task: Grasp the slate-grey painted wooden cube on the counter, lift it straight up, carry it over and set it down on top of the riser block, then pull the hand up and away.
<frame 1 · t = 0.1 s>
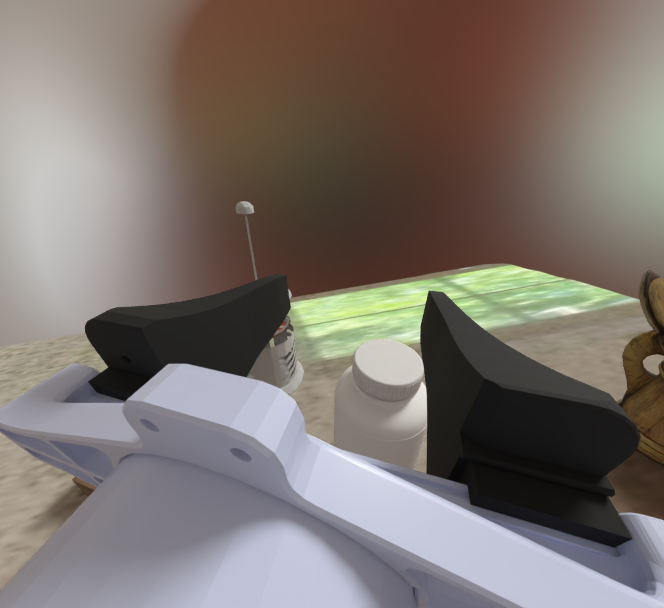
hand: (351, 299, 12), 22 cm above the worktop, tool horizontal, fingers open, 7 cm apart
brass mortar and pestle: (634, 425, 29), on the worktop
french press: (273, 372, 38), on the worktop
pill bottle: (371, 468, 25), on the worktop
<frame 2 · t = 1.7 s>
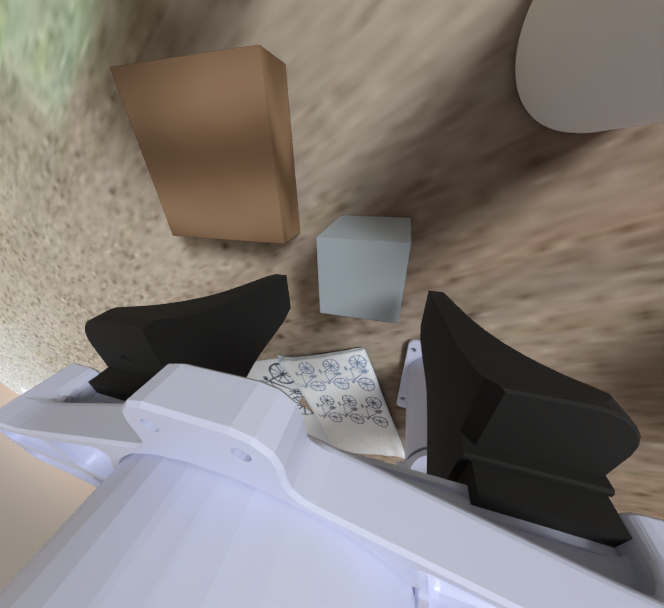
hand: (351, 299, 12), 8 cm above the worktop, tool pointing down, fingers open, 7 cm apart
white bicycle print cloth: (317, 400, 32), on the worktop
slate cube: (372, 249, 19), on the worktop
pill bottle: (617, 24, 10), on the worktop
riser: (233, 162, 18), on the worktop
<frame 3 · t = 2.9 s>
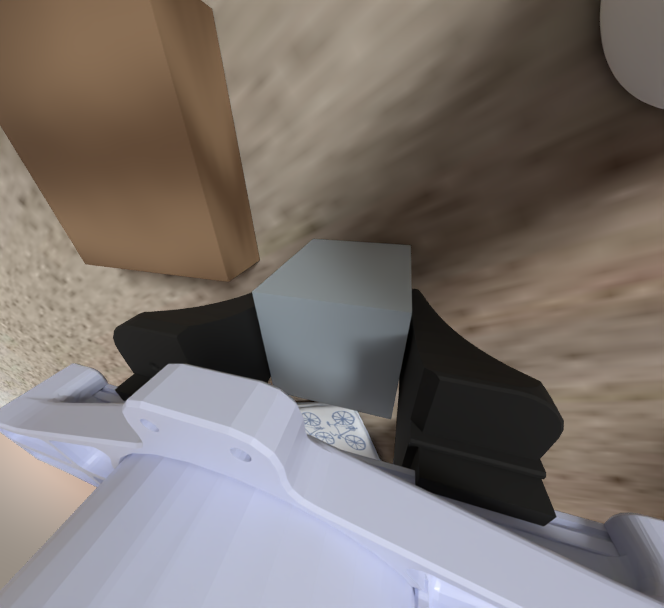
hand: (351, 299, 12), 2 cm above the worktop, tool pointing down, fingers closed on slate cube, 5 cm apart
white bicycle print cloth: (299, 446, 27), on the worktop
slate cube: (357, 285, 13), on the worktop, touching gripper
riser: (160, 164, 13), on the worktop
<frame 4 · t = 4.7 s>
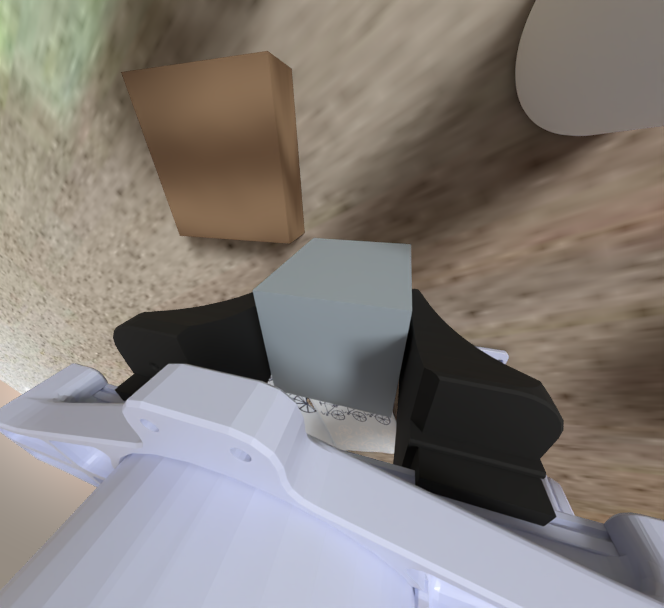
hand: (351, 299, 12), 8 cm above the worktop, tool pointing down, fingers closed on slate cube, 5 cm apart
white bicycle print cloth: (320, 398, 33), on the worktop
slate cube: (357, 284, 13), point 7 cm above the worktop, touching gripper
pill bottle: (613, 31, 11), on the worktop
riser: (239, 164, 18), on the worktop
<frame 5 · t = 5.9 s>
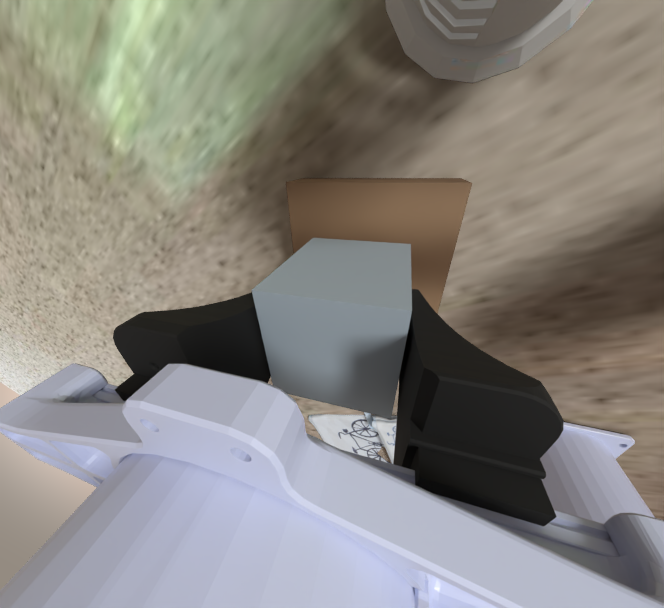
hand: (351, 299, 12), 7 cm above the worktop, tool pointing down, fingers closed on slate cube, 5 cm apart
white bicycle print cloth: (393, 450, 32), on the worktop
slate cube: (357, 284, 13), point 6 cm above the worktop, touching gripper
riser: (371, 252, 18), on the worktop
when the fingers open (6 cm above the worktop, at t = 6.6 s): slate cube drops 1 cm, resting on riser.
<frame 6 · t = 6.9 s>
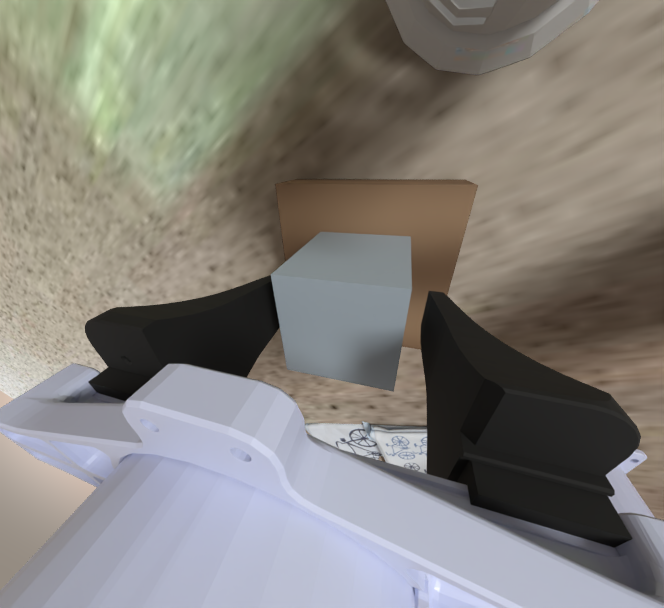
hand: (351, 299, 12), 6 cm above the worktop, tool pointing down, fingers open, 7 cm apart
white bicycle print cloth: (393, 459, 31), on the worktop
slate cube: (361, 275, 14), point 3 cm above the worktop, touching riser
riser: (368, 258, 17), on the worktop
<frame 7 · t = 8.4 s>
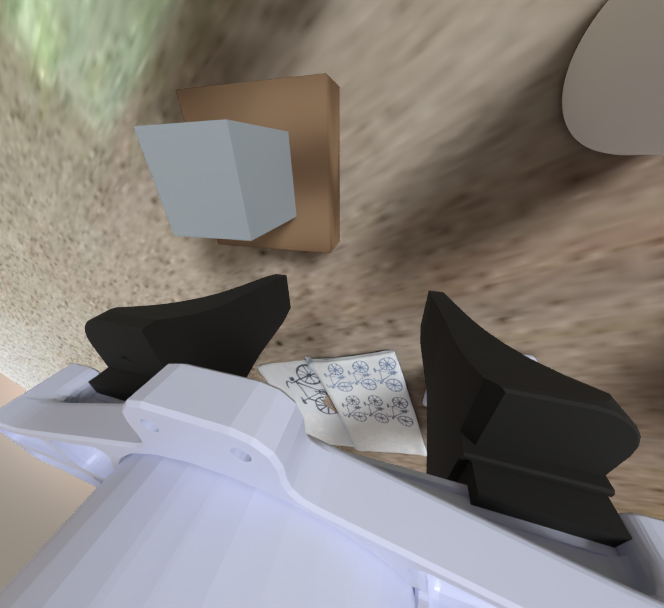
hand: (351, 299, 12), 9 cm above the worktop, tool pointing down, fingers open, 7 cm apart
white bicycle print cloth: (340, 400, 33), on the worktop
slate cube: (259, 177, 16), point 3 cm above the worktop, touching riser
pill bottle: (659, 57, 11), on the worktop
riser: (279, 175, 19), on the worktop
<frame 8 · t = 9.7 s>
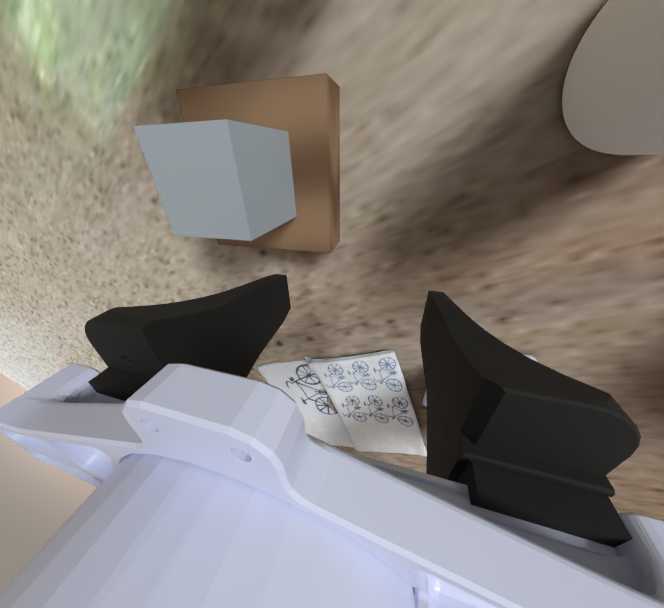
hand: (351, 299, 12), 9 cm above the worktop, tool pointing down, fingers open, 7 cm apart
white bicycle print cloth: (340, 400, 33), on the worktop
slate cube: (259, 177, 16), point 3 cm above the worktop, touching riser
pill bottle: (659, 57, 11), on the worktop
riser: (279, 175, 19), on the worktop
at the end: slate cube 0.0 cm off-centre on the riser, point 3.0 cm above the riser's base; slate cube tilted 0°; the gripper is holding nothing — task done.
